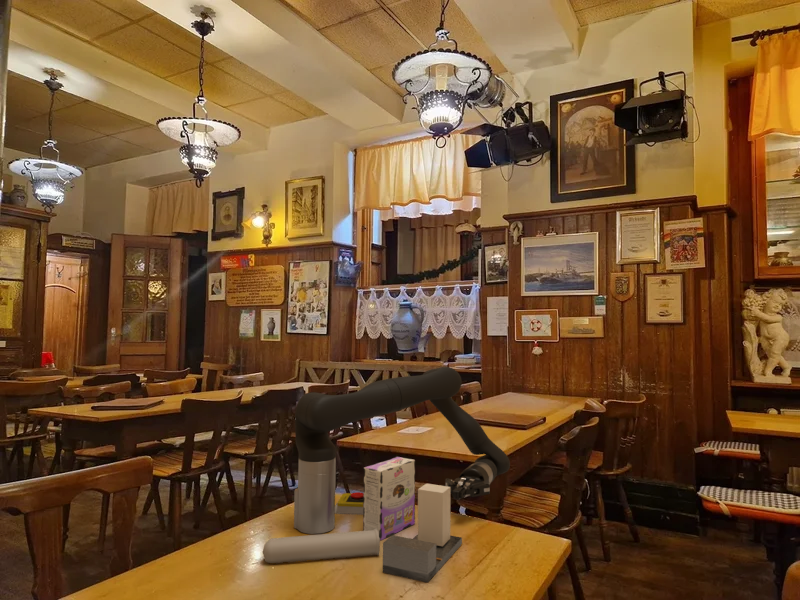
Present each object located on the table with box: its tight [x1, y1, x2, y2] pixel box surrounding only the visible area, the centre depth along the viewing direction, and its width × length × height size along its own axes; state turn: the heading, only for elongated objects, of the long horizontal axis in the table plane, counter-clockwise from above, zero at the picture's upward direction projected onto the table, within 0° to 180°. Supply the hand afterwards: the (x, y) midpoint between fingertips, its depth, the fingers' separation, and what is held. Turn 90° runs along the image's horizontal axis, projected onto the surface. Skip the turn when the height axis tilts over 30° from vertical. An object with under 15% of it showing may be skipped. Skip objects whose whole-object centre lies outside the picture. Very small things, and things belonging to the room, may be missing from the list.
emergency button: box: [335, 491, 364, 516], centre depth 150 cm, size 9×4×15 cm
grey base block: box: [382, 533, 463, 583], centre depth 119 cm, size 10×21×6 cm, turn 155°
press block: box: [417, 483, 451, 547], centre depth 124 cm, size 6×5×12 cm
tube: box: [262, 529, 381, 564], centre depth 119 cm, size 5×5×25 cm
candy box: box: [362, 456, 416, 541], centre depth 135 cm, size 14×6×16 cm, turn 142°
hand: (456, 495), depth 138 cm, fingers closed
